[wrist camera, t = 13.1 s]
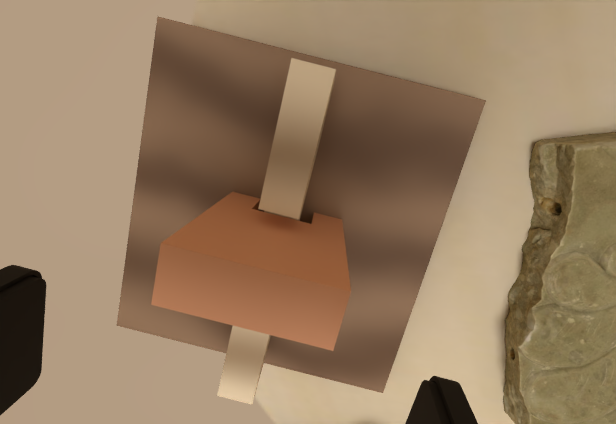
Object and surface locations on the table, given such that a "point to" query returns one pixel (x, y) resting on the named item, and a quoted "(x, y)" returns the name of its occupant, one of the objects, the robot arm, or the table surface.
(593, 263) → the decorative tile
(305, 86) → the slotted stand
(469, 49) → the table surface
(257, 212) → the notched plate
